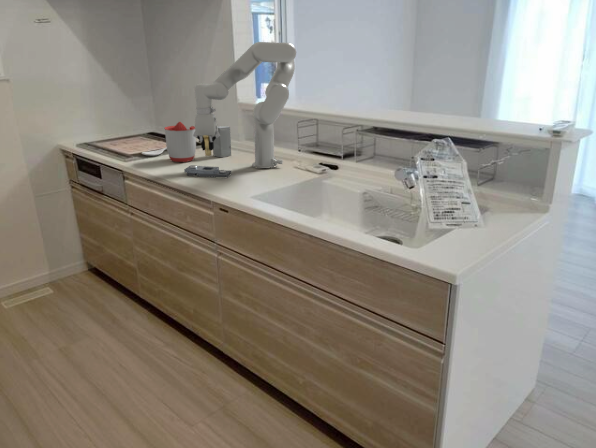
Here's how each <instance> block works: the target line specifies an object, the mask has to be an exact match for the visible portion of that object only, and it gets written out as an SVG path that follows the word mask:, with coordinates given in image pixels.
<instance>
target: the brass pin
mask: <svg viewBox="0 0 596 448" xmlns="http://www.w3.org/2000/svg"><path fill="white" fill-rule="evenodd" d="M203 137H204V147H205V150H204V155H205V156H206V157H211V156H212V155H213V154H212V151H210V147H209V142H210V138H209V136H207V135H203Z"/></svg>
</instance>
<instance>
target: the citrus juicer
mask: <svg viewBox="0 0 596 448" xmlns="http://www.w3.org/2000/svg"><path fill="white" fill-rule="evenodd" d="M194 132H195V125H194V126H193V125H191V126H190V127H189V129H187V127H186V126H185V125H184V123H183V122H181V121H178V122H177V123H176V124H175V125H169V126H165V127H164V134H165V145H166V146H165V148H166V147H167V149H166V150H167V155H168V157H169V159H170V161H171V162H176V163H177V162H178V163H187V162H191V161H193V160H194V158H195V155H196V149H197V138H196V137H194V136H193V134H194Z"/></svg>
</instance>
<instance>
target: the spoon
mask: <svg viewBox="0 0 596 448" xmlns="http://www.w3.org/2000/svg"><path fill="white" fill-rule="evenodd" d="M165 150H167V147H166V146H165V147H163V148H160V149H158V150H157V149H156V150H151V151H142V152H141V154H142V155H144V156H149V157H155V156H158V155H161V154H162V153H163V152H164V151H165Z"/></svg>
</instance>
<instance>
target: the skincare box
mask: <svg viewBox="0 0 596 448" xmlns="http://www.w3.org/2000/svg"><path fill="white" fill-rule="evenodd" d="M217 127H218V132H219V134H220V136H219V137H218V138H216V139H215V140H214V141H213V142H214V148H213V150H212V153H213V154H212V155H213V157H217V158H225V157H229V156H232V143H231V142H232V139H231V138H232V137H231V126H225V125H224V126H222V125H221V126H217ZM214 136H216V134H215V135H214Z"/></svg>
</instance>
